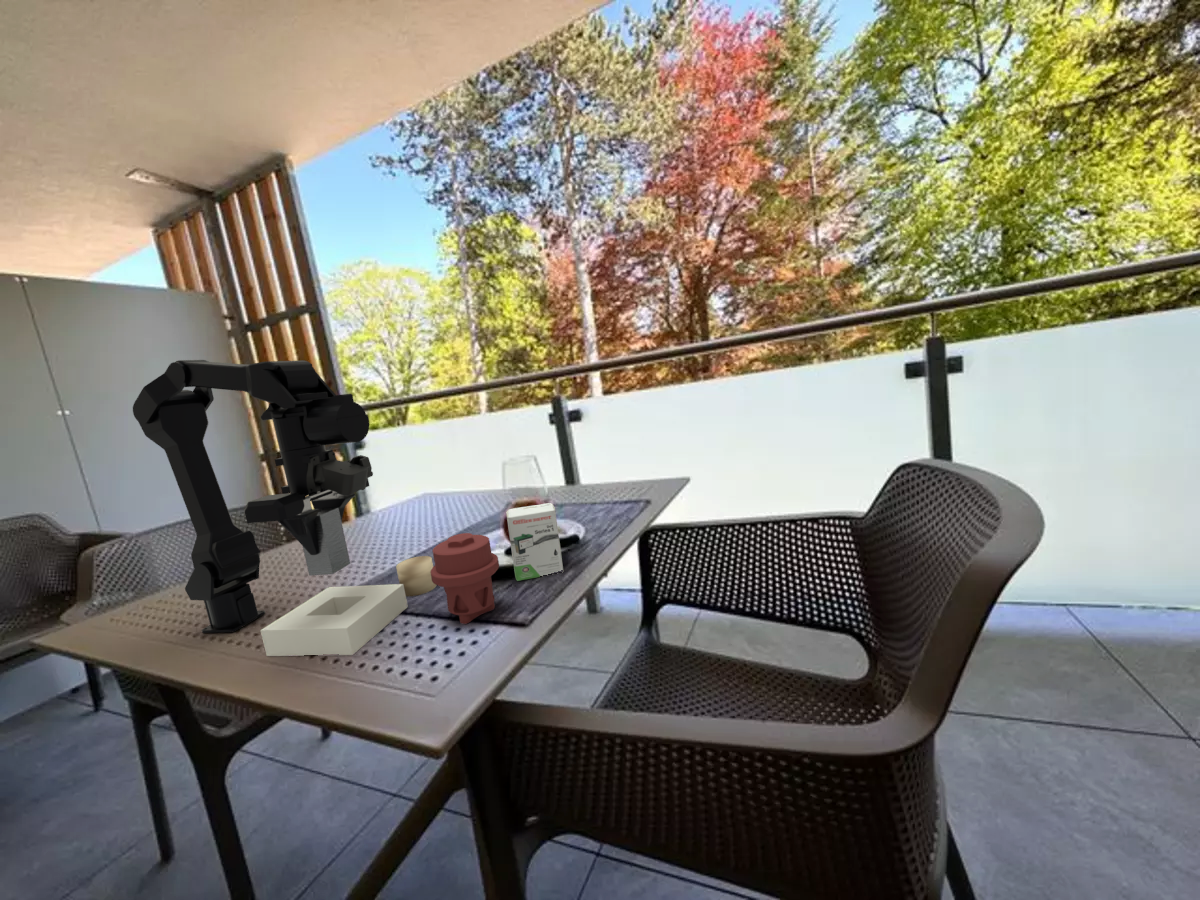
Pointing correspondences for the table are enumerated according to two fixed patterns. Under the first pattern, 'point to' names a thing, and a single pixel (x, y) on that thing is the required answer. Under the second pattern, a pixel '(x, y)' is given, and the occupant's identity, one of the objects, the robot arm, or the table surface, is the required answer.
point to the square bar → (328, 544)
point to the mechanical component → (466, 574)
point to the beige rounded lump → (416, 575)
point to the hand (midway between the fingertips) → (325, 549)
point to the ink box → (534, 541)
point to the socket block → (335, 621)
